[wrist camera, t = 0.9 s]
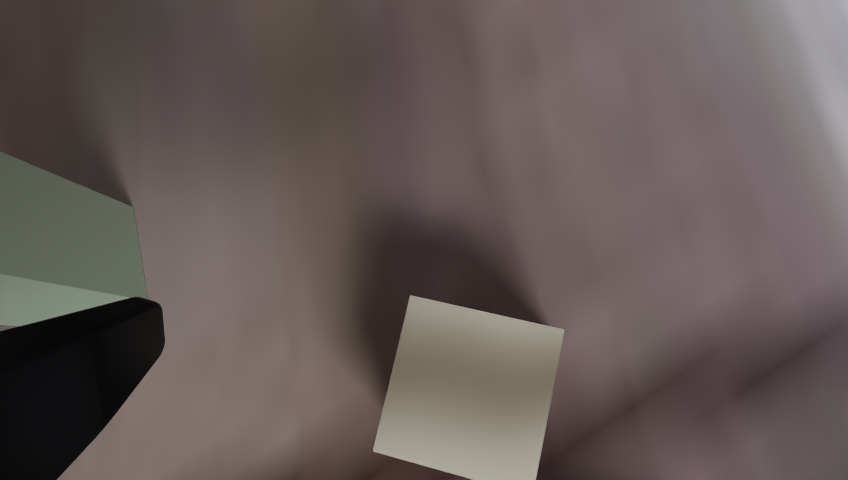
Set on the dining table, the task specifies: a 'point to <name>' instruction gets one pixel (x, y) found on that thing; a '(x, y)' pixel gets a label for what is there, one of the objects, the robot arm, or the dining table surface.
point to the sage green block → (62, 246)
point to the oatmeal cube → (469, 392)
